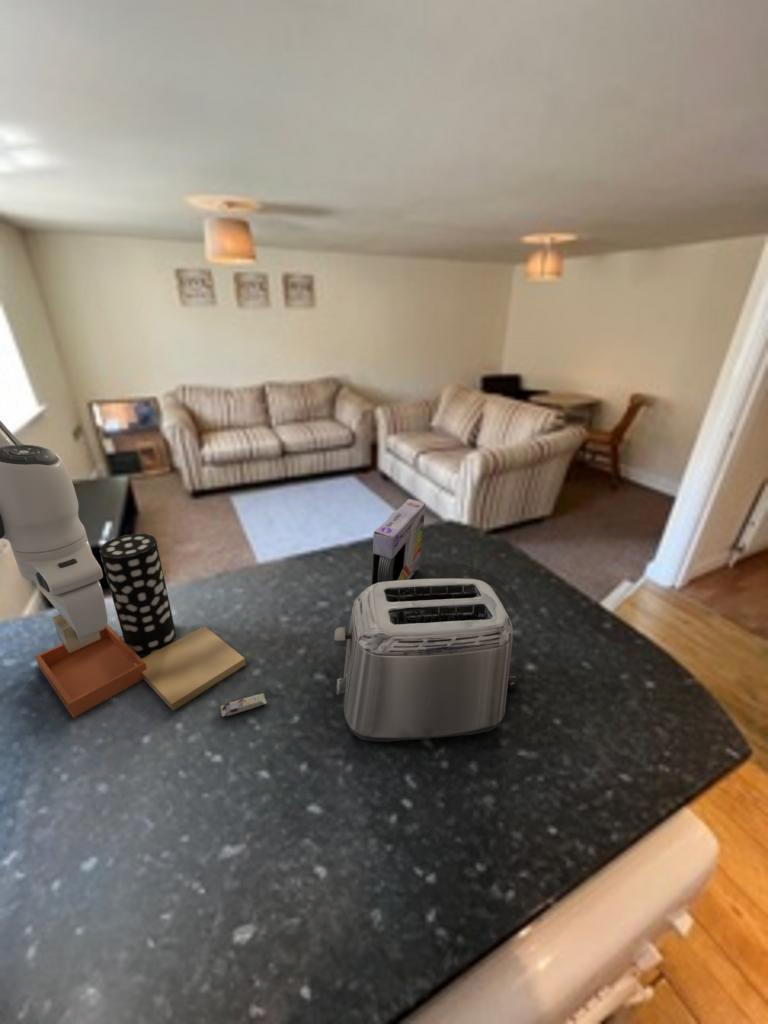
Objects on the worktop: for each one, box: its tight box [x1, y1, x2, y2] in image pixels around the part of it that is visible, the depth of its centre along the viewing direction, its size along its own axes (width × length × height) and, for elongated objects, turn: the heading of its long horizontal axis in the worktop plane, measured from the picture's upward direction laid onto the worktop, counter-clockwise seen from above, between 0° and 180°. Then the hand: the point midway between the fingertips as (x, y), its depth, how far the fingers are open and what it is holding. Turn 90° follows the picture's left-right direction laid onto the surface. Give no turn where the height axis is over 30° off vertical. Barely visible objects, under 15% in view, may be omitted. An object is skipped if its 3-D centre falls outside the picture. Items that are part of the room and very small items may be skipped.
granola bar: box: [219, 692, 268, 717], centre depth 69 cm, size 7×2×1 cm, turn 113°
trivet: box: [133, 625, 247, 712], centre depth 76 cm, size 13×13×2 cm
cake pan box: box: [370, 498, 427, 586], centre depth 97 cm, size 19×5×18 cm, turn 155°
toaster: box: [333, 578, 517, 743], centre depth 68 cm, size 17×30×19 cm, turn 95°
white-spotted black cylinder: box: [99, 533, 177, 657], centre depth 78 cm, size 8×8×20 cm
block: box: [51, 613, 101, 653], centre depth 71 cm, size 4×4×4 cm
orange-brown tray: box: [34, 623, 147, 719], centre depth 74 cm, size 15×11×3 cm
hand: (77, 630), depth 71 cm, fingers closed on block, 4 cm apart
